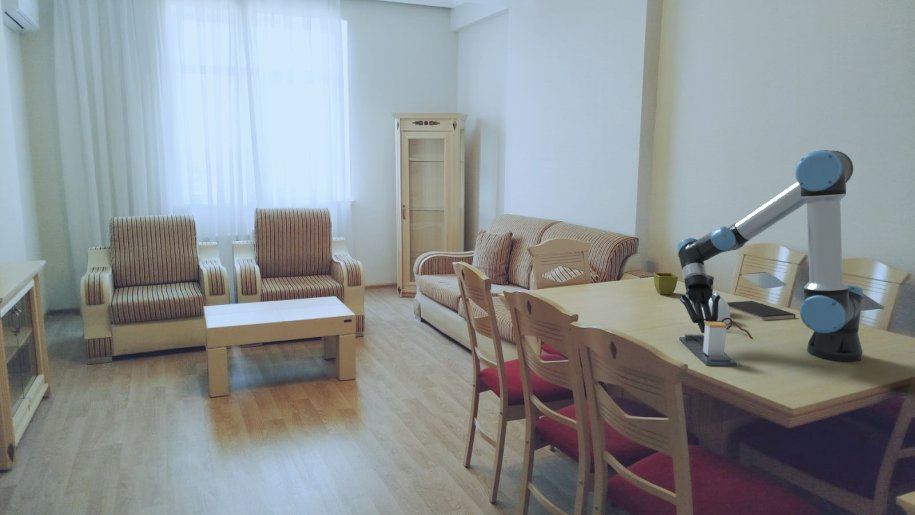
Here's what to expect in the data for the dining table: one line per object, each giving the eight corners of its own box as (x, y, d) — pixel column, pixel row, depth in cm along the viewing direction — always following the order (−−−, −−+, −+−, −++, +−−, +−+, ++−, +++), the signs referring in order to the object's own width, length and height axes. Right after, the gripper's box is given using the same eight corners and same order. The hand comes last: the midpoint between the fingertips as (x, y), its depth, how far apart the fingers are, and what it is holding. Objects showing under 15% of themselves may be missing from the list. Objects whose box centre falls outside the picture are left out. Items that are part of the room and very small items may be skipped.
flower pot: (677, 295, 282) (678, 276, 280) (657, 295, 282) (659, 276, 280) (670, 291, 290) (672, 273, 289) (652, 291, 290) (653, 272, 289)
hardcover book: (761, 321, 240) (762, 316, 240) (721, 308, 262) (722, 302, 261) (795, 319, 244) (795, 313, 244) (753, 305, 266) (753, 300, 266)
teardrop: (697, 316, 246) (699, 286, 244) (726, 317, 244) (729, 288, 242) (702, 323, 235) (704, 292, 233) (733, 325, 233) (735, 294, 231)
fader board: (679, 340, 212) (679, 333, 212) (705, 340, 212) (706, 334, 212) (706, 365, 187) (707, 357, 186) (736, 366, 186) (737, 358, 186)
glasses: (730, 329, 228) (731, 316, 227) (753, 340, 215) (754, 326, 214) (697, 331, 225) (698, 318, 225) (718, 341, 213) (719, 327, 212)
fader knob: (702, 351, 195) (705, 321, 194) (719, 351, 195) (721, 321, 194) (707, 355, 191) (709, 325, 190) (724, 355, 191) (726, 325, 190)
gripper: (711, 285, 213) (726, 347, 199) (673, 285, 213) (685, 346, 199) (718, 273, 207) (734, 336, 193) (679, 273, 207) (692, 335, 193)
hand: (709, 341), depth 196 cm, fingers closed
